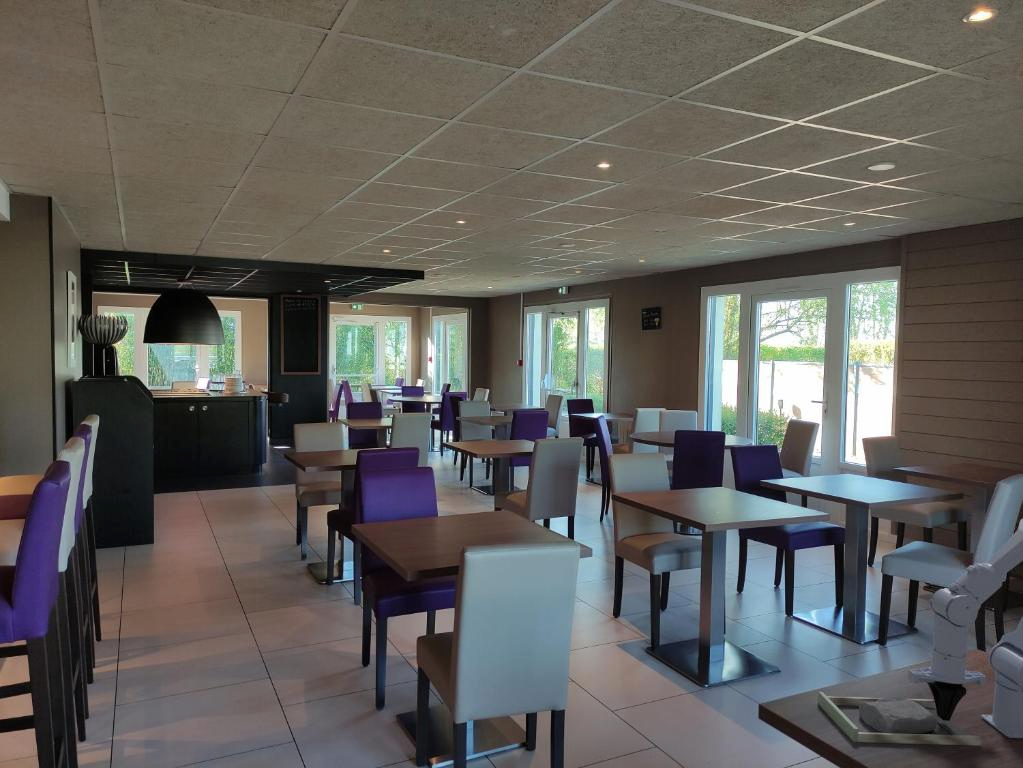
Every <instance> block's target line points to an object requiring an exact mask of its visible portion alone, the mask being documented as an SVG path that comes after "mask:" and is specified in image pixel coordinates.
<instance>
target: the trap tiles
mask: <svg viewBox="0 0 1023 768" xmlns="http://www.w3.org/2000/svg"><path fill="white" fill-rule="evenodd" d="M925 709H926V710H928V711H929V712H930V713H932V714H933V715H934V716H935V717H936V720H937V725H936V728H935V729H934V730H932V731H930V732H929V733H931V735H965V736H969V735H968V733H966V732H965V731H963V729H961V728H960V727H958V726H957V725H956V724H955V723H954V722H952V721H951V720H950V721H944V720H942V719H941V718H940V717H938V716H937V711H936V707H934V708H925Z"/></svg>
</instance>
